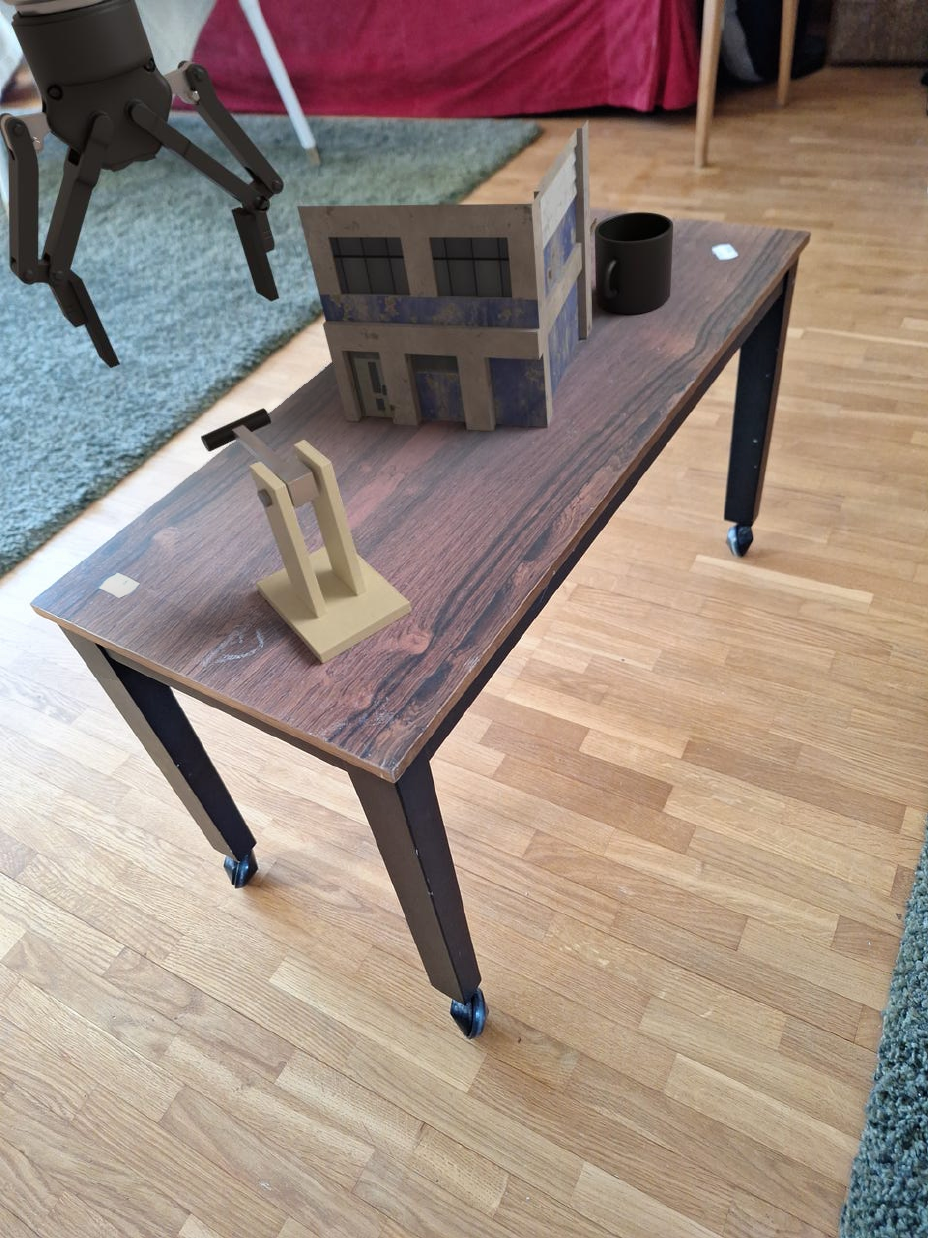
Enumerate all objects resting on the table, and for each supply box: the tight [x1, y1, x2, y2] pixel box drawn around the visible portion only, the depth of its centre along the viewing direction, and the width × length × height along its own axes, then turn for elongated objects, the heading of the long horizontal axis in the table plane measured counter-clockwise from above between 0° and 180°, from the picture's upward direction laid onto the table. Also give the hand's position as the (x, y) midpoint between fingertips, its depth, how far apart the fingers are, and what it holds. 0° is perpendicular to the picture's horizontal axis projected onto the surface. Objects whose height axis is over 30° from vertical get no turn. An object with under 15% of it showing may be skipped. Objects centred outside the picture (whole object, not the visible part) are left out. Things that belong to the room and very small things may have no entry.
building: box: [296, 119, 593, 432], centre depth 94 cm, size 23×24×23 cm
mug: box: [594, 211, 674, 315], centre depth 107 cm, size 9×12×9 cm
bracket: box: [248, 439, 412, 665], centre depth 71 cm, size 12×9×15 cm
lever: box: [200, 408, 319, 509], centre depth 70 cm, size 13×6×2 cm, turn 36°
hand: (191, 327), depth 67 cm, fingers open, 13 cm apart
